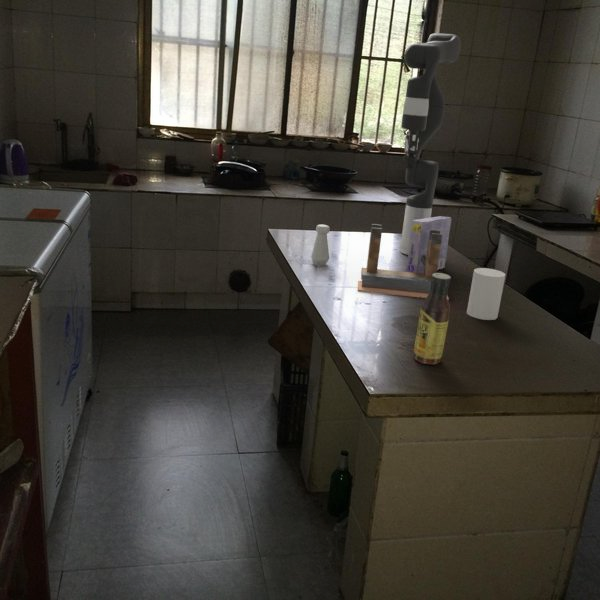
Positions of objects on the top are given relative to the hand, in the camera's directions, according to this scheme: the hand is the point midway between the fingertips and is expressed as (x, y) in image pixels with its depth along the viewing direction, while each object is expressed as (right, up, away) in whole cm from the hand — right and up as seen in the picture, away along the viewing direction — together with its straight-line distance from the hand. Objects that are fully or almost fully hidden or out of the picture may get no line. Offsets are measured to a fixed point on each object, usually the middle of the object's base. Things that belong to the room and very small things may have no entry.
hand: (408, 166), depth 204 cm
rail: (-4, -39, -14) cm, 41 cm away
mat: (-4, -39, -13) cm, 42 cm away
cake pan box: (+8, -33, +10) cm, 35 cm away
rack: (-3, -36, -2) cm, 36 cm away
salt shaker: (-28, -31, +7) cm, 42 cm away
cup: (+15, -46, -28) cm, 56 cm away
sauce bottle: (-6, -56, -61) cm, 83 cm away
